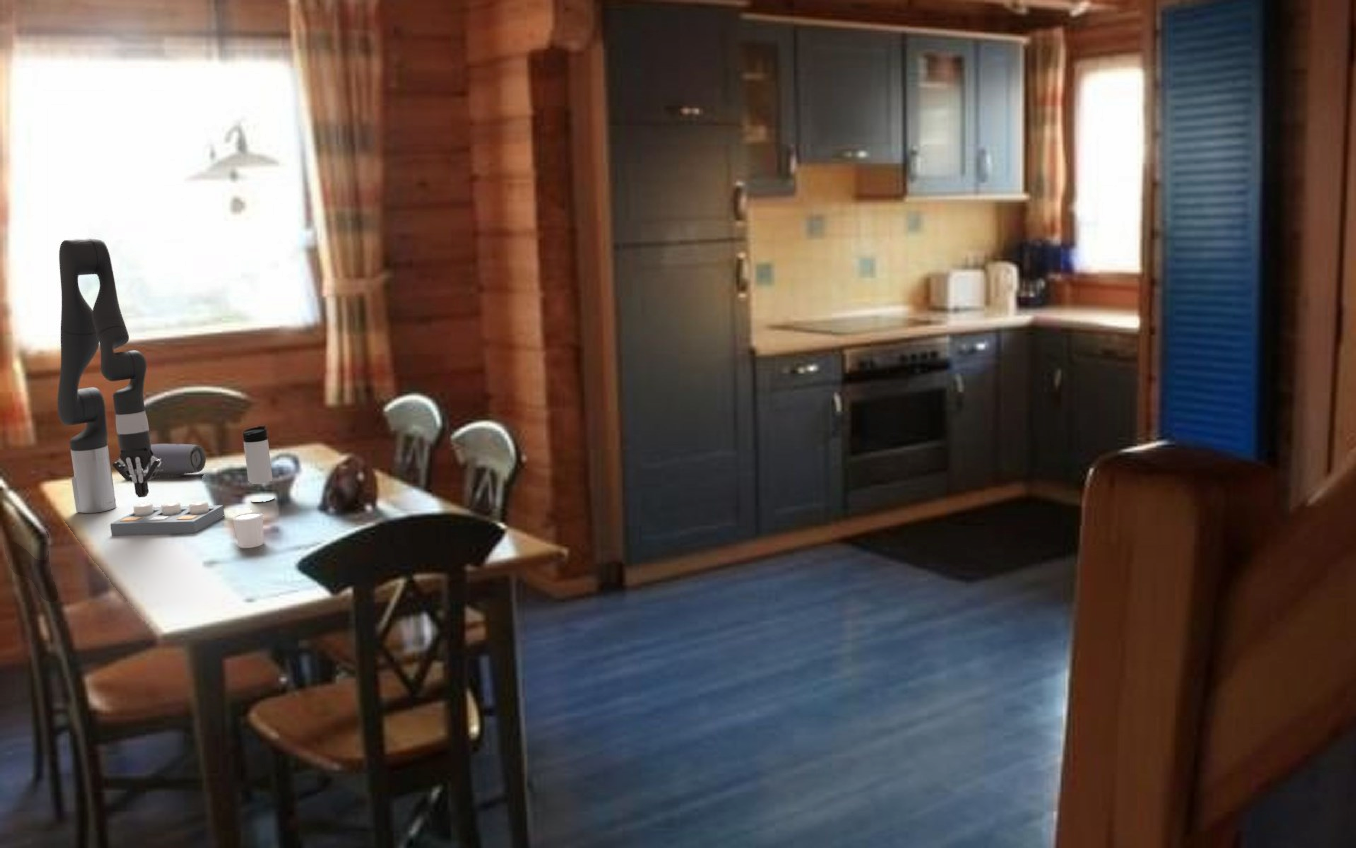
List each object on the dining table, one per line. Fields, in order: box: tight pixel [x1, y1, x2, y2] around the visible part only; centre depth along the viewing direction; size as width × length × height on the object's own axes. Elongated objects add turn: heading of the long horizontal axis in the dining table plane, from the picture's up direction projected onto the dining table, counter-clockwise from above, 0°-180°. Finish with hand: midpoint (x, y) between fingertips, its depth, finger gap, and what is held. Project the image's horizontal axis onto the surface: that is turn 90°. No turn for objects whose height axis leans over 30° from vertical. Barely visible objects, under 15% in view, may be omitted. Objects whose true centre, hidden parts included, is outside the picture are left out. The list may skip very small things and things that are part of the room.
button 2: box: [188, 501, 209, 514], centre depth 331 cm, size 5×5×3 cm
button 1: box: [133, 502, 154, 516], centre depth 333 cm, size 5×5×3 cm
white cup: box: [232, 512, 264, 549], centre depth 307 cm, size 7×7×7 cm
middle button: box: [160, 502, 182, 515], centre depth 332 cm, size 5×5×3 cm
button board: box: [109, 504, 225, 536], centre depth 330 cm, size 22×16×3 cm
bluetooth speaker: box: [125, 443, 207, 478], centre depth 393 cm, size 23×9×10 cm, turn 77°
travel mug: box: [242, 425, 273, 484], centre depth 352 cm, size 6×7×20 cm
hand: (142, 496), depth 332 cm, fingers closed
